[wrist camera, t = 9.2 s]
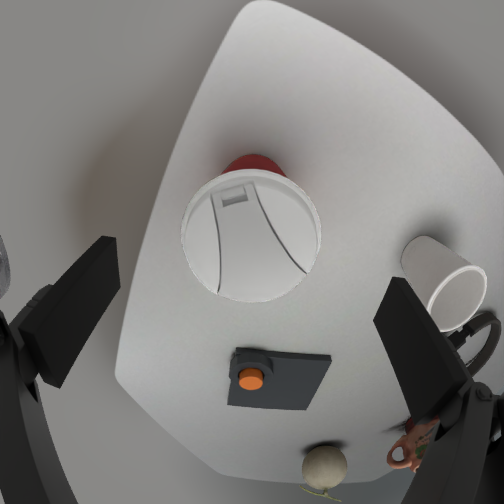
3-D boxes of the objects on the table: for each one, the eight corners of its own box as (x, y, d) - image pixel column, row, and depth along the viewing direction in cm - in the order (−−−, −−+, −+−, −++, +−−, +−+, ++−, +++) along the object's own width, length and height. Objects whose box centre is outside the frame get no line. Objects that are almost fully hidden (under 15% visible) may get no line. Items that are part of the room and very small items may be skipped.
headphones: (430, 378, 32) (516, 310, 31) (407, 347, 39) (490, 289, 38) (425, 423, 40) (499, 367, 38) (408, 396, 46) (480, 347, 45)
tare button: (238, 379, 39) (237, 388, 38) (241, 365, 38) (240, 375, 36) (260, 381, 39) (260, 390, 38) (264, 368, 38) (264, 377, 36)
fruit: (300, 441, 54) (305, 498, 41) (348, 437, 55) (358, 491, 41) (293, 457, 59) (296, 507, 46) (336, 453, 59) (343, 501, 46)
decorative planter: (375, 440, 57) (386, 485, 45) (381, 420, 52) (395, 472, 39) (443, 417, 55) (458, 457, 42) (456, 394, 49) (476, 438, 37)
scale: (224, 399, 46) (223, 413, 43) (233, 344, 39) (231, 359, 37) (305, 405, 47) (306, 418, 44) (331, 352, 40) (335, 367, 37)
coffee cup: (202, 155, 28) (152, 201, 14) (283, 133, 27) (309, 156, 13) (227, 230, 31) (206, 323, 18) (302, 211, 30) (335, 295, 17)
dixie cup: (454, 241, 31) (498, 281, 23) (421, 291, 35) (454, 339, 26) (415, 214, 30) (462, 253, 21) (379, 271, 34) (411, 323, 25)
